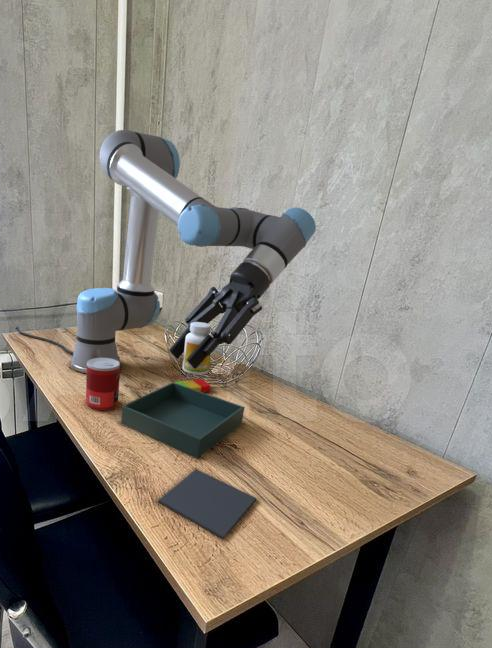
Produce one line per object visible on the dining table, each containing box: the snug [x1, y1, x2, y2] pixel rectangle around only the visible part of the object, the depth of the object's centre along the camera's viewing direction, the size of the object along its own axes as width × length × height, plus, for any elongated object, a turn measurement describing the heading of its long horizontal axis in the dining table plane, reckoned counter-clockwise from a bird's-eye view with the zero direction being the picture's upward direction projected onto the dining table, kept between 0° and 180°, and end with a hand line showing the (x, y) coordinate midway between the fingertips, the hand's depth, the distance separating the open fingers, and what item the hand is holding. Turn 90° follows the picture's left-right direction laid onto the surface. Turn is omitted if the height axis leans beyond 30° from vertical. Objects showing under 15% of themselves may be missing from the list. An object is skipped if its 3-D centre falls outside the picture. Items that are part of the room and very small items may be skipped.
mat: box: [158, 468, 257, 540], centre depth 67 cm, size 12×12×1 cm
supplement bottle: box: [182, 322, 212, 376], centre depth 80 cm, size 5×5×10 cm
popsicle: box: [174, 378, 212, 393], centre depth 110 cm, size 6×15×2 cm, turn 114°
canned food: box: [85, 358, 121, 411], centre depth 98 cm, size 8×8×11 cm
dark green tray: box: [120, 381, 245, 459], centre depth 92 cm, size 20×20×4 cm
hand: (182, 359), depth 79 cm, fingers closed on supplement bottle, 5 cm apart
